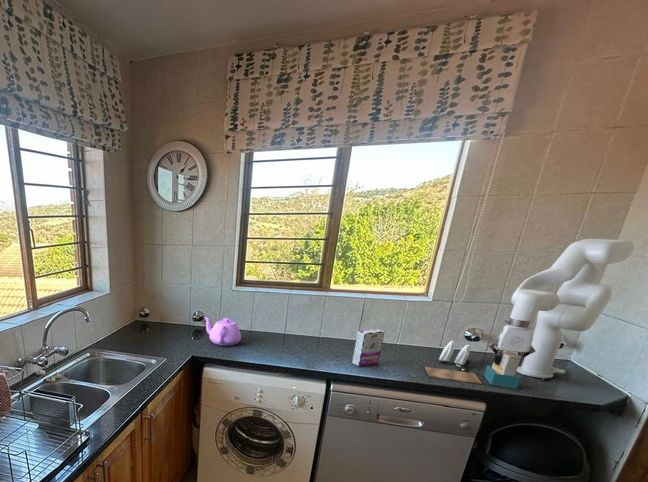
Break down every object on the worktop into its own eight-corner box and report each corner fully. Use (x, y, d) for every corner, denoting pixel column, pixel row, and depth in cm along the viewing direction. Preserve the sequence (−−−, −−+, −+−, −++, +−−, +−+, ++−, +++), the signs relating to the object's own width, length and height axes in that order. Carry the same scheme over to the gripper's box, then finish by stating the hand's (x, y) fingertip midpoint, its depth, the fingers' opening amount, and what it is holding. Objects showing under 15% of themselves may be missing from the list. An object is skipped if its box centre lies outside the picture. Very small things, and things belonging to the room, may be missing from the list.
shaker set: (438, 363, 194) (444, 341, 190) (435, 360, 198) (441, 338, 194) (467, 365, 191) (474, 343, 187) (463, 363, 195) (470, 341, 191)
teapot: (208, 335, 238) (209, 312, 233) (244, 339, 229) (246, 316, 224) (195, 344, 220) (196, 320, 215) (234, 350, 211) (237, 324, 206)
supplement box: (511, 386, 168) (522, 356, 163) (498, 385, 169) (509, 355, 164) (500, 379, 176) (510, 350, 171) (487, 378, 176) (497, 349, 172)
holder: (507, 379, 175) (511, 368, 174) (516, 388, 166) (520, 377, 164) (483, 376, 179) (487, 365, 177) (490, 385, 169) (494, 374, 167)
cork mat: (474, 374, 181) (474, 373, 181) (481, 384, 170) (482, 383, 170) (424, 367, 188) (425, 366, 188) (428, 376, 178) (429, 375, 177)
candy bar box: (369, 361, 196) (377, 328, 190) (377, 364, 192) (385, 331, 186) (350, 363, 193) (357, 330, 187) (358, 366, 189) (365, 333, 183)
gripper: (496, 323, 163) (482, 364, 170) (551, 328, 156) (535, 371, 163) (491, 319, 169) (478, 359, 176) (544, 323, 162) (528, 365, 169)
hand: (505, 364), depth 169 cm, fingers closed on supplement box, 5 cm apart
